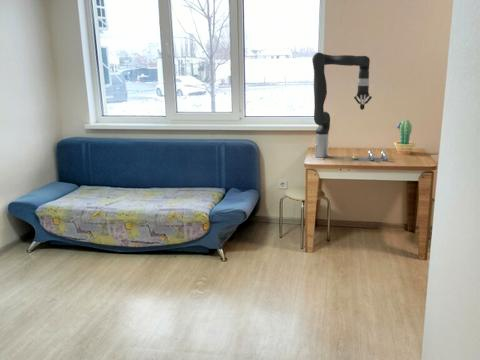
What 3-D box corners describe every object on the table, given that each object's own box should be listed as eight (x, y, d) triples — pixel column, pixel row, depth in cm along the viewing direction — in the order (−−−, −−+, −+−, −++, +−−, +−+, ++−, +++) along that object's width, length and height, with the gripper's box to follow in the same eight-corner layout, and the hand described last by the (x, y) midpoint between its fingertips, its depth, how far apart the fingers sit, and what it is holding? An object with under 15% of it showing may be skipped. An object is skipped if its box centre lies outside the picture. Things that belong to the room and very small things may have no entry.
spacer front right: (383, 161, 312) (383, 154, 311) (382, 160, 315) (383, 153, 314) (387, 161, 312) (388, 154, 311) (387, 160, 315) (387, 153, 313)
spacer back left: (368, 158, 322) (369, 151, 320) (368, 157, 325) (368, 150, 323) (372, 158, 321) (373, 151, 320) (372, 157, 324) (372, 150, 323)
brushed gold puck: (352, 159, 319) (352, 157, 318) (351, 158, 323) (352, 156, 322) (358, 159, 318) (358, 157, 318) (357, 158, 322) (357, 156, 322)
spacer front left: (370, 161, 314) (370, 154, 312) (369, 160, 317) (369, 153, 315) (374, 161, 313) (374, 154, 312) (373, 160, 316) (374, 153, 315)
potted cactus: (406, 150, 347) (408, 118, 340) (419, 154, 332) (422, 121, 326) (389, 152, 343) (391, 119, 336) (401, 156, 328) (403, 122, 322)
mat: (350, 161, 316) (350, 161, 316) (349, 157, 327) (349, 157, 327) (387, 161, 312) (387, 161, 312) (384, 158, 323) (384, 157, 323)
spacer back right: (381, 158, 320) (381, 151, 319) (380, 157, 323) (381, 151, 322) (385, 158, 320) (386, 151, 319) (385, 157, 323) (385, 151, 321)
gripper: (354, 85, 312) (353, 110, 317) (373, 85, 310) (372, 110, 315) (353, 84, 319) (352, 109, 324) (372, 84, 317) (371, 108, 322)
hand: (362, 109), depth 319 cm, fingers closed
